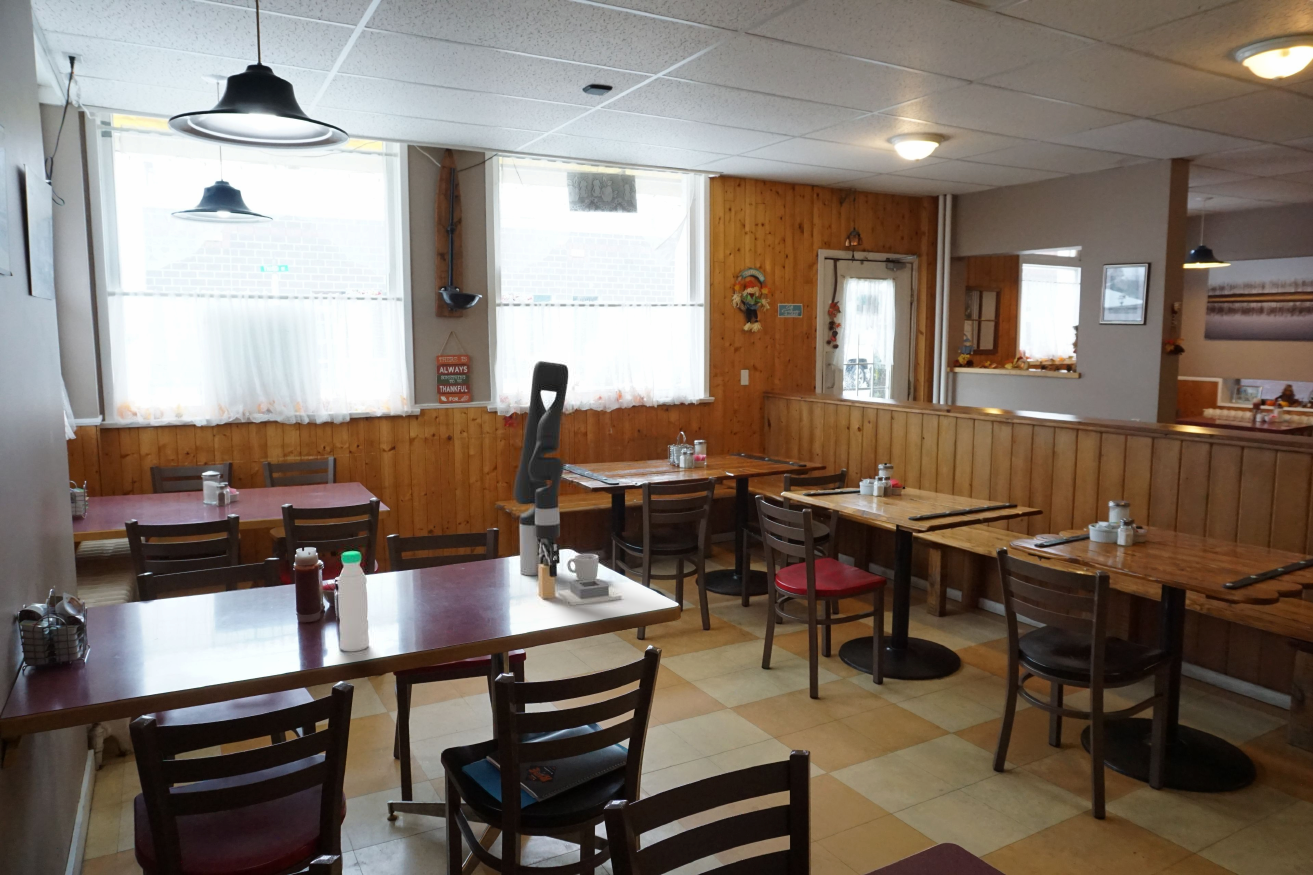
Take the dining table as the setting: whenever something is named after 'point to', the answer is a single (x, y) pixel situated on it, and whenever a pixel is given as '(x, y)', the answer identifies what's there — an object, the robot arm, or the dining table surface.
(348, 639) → the water bottle
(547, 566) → the light wood tall block
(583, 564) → the cup
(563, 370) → the robot arm
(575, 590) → the socket
